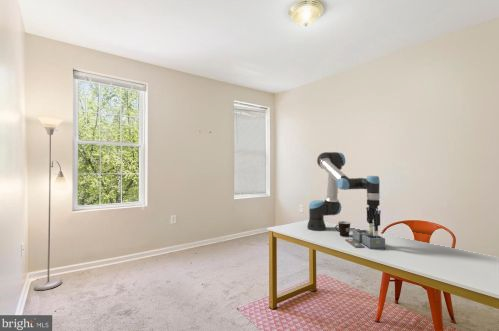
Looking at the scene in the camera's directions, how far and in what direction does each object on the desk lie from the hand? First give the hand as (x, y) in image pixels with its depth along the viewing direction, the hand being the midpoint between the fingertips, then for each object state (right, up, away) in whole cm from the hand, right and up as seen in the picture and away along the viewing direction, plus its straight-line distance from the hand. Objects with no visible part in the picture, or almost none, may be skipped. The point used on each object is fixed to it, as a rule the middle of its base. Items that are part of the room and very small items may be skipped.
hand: (373, 234), depth 167 cm
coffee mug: (-11, -8, +26) cm, 29 cm away
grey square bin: (-1, -8, +12) cm, 14 cm away
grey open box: (0, -8, 0) cm, 8 cm away
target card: (-10, -8, +6) cm, 14 cm away
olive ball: (0, 0, 0) cm, 0 cm away
